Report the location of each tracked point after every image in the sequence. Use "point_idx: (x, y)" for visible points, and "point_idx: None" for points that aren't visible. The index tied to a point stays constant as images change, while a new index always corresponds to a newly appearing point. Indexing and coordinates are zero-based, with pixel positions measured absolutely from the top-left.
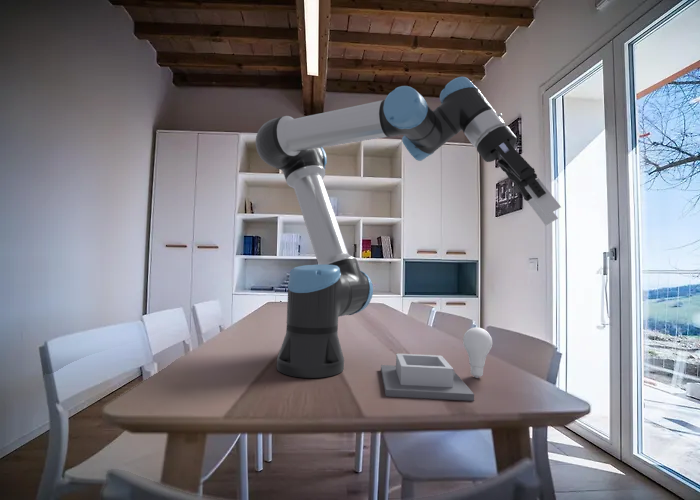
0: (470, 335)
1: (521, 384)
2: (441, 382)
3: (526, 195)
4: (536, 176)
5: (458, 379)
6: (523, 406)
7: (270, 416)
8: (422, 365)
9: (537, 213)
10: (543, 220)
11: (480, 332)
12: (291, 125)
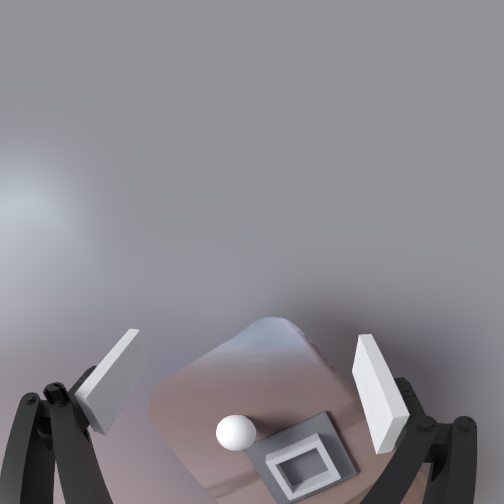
0: (251, 443)
1: (236, 374)
2: (322, 443)
3: (89, 443)
4: (429, 417)
5: (285, 434)
6: (312, 369)
7: (424, 494)
8: (282, 472)
9: (129, 393)
10: (142, 372)
11: (246, 433)
12: None
